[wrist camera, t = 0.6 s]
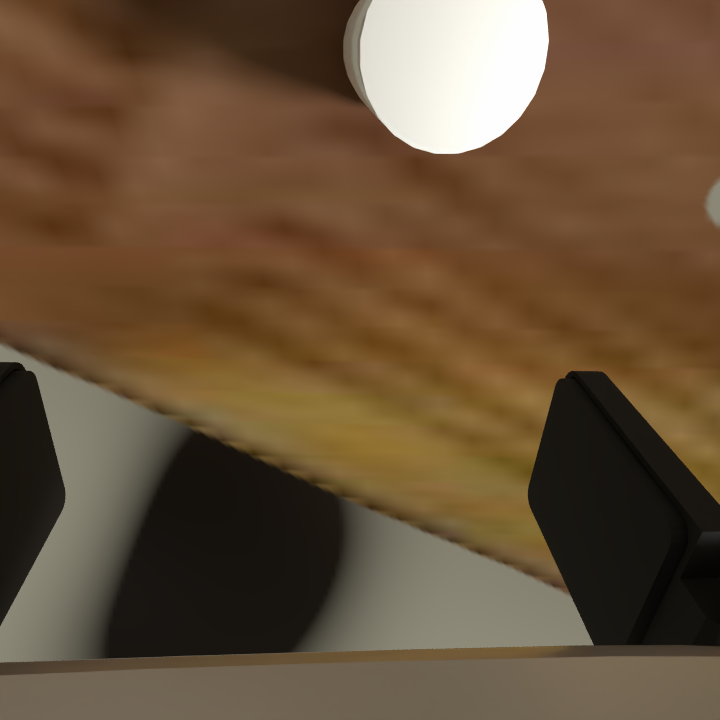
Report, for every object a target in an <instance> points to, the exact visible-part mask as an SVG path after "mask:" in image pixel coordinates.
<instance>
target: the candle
mask: <svg viewBox="0 0 720 720" xmlns="http://www.w3.org/2000/svg"><path fill="white" fill-rule="evenodd" d="M548 42H549V39H548V27H547V14H546V10H545V7H544V4H543V1H542V0H359V2H358V3H357V4H356V6H355V8H354V10H353V12H352V14H351V16H350V18H349V20H348V22H347V26H346V30H345V35H344V39H343V60H344V64H345V68H346V72H347V76H348V78H349V80H350V82H351V84H352V86H353V88H354V89H355V91H356V92H357V94H358V96H359V98H360V99H361V100H362V101H363V102H364V104H365V105H366V106H367V107H368V108H369V109H370V110H371V111H372V113H373V114H374V115H375V116H376V117H377V118H378V119H379V120H381V121H382V122H383V123H384V124H385V126H386V127H387V128H388V129H389V130H390V131H391V132H392V133H393V134H394V135H395V136H396V137H398V138H400V139H401V140H403V141H404V142H406V143H407V144H409V145H411V146H412V147H414V148H417V149H421V150H425V151H428V152H432V153H435V154H452V153H462V152H465V151H469V150H472V149H476V148H479V147H482V146H483V145H485V144H487V143H488V142H490V141H492V140H494V139H495V138H497V137H499V136H500V135H502V134H503V133H504V132H505V131H506V130H507V129H508V128H509V127H510V126H511V125H512V124H513V123H514V122H515V121H516V120H517V119H518V118H519V117H520V116H521V115H522V113H523V112H524V110H525V109H526V107H527V106H528V104H529V103H530V101H531V99H532V98H533V96H534V95H535V93H536V90H537V87H538V85H539V82H540V79H541V77H542V74H543V71H544V69H545V62H546V55H547V49H548Z"/></svg>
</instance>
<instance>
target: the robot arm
mask: <svg viewBox="0 0 720 720" xmlns="http://www.w3.org/2000/svg"><path fill="white" fill-rule="evenodd" d="M528 501H529V505H530V508H531V510H532V512H533V514H534V517H535V519H536V521H537V523H538V525H539V527H540V530H541V532H542V534H543V536H544V538H545V540H546V543H547V545H548V547H549V549H550V551H551V553H552V556H553V558H554V560H555V562H556V564H557V566H558V569H559V571H560V573H561V575H562V577H563V579H564V582H565V584H566V586H567V588H568V590H569V592H570V594H571V597H572V599H573V601H574V603H575V605H576V607H577V610H578V612H579V614H580V616H581V618H582V620H583V623H584V625H585V627H586V629H587V631H588V633H589V635H590V638H591V640H592V642H593V644H594V645H593V646H538V647H496V648H454V649H412V650H377V651H344V652H310V653H309V652H307V653H275V654H240V655H209V656H178V657H150V658H119V659H91V660H63V661H34V662H7V663H6V662H5V663H0V720H720V505H719V504H718V503H717V501H716V500H715V499H714V498H713V497H712V496H711V494H710V493H709V492H708V491H707V490H706V489H705V488H704V486H703V485H702V484H701V483H700V482H699V481H698V480H697V478H696V477H695V476H694V475H693V474H692V473H691V472H690V470H689V469H688V468H687V467H686V466H685V465H684V464H683V462H682V461H681V460H680V459H679V458H678V457H677V456H676V454H675V453H674V452H673V451H672V450H671V449H670V447H669V446H668V445H667V444H666V443H665V442H664V441H663V439H662V438H661V437H660V436H659V435H658V434H657V433H656V431H655V430H654V429H653V428H652V427H651V426H650V425H649V423H648V422H647V421H646V420H645V419H644V418H643V417H642V415H641V414H640V413H639V412H638V411H637V410H636V409H635V407H634V406H633V405H632V404H631V403H630V402H629V401H628V399H627V398H626V397H625V396H624V395H623V394H622V392H621V391H620V390H619V389H618V388H617V387H616V386H615V384H614V383H613V382H612V381H611V380H610V379H609V378H608V376H607V375H606V374H604V373H603V372H599V371H571V372H569V373H568V374H567V375H566V377H565V379H562V378H561V379H559V380H558V382H557V383H556V386H555V390H554V393H553V397H552V401H551V405H550V408H549V412H548V416H547V420H546V423H545V427H544V431H543V435H542V438H541V442H540V446H539V450H538V453H537V457H536V461H535V465H534V468H533V472H532V476H531V480H530V483H529V488H528ZM64 503H65V487H64V483H63V480H62V476H61V472H60V468H59V464H58V460H57V456H56V452H55V448H54V445H53V441H52V437H51V433H50V429H49V425H48V421H47V417H46V413H45V409H44V405H43V401H42V397H41V394H40V390H39V386H38V382H37V379H36V376H35V374H34V373H33V372H31V371H26V370H25V368H24V367H23V365H22V364H20V363H17V362H0V626H1V623H2V622H3V620H4V618H5V616H6V614H7V612H8V610H9V609H10V607H11V605H12V603H13V601H14V599H15V598H16V596H17V594H18V592H19V590H20V588H21V586H22V584H23V583H24V581H25V579H26V577H27V575H28V573H29V571H30V570H31V568H32V566H33V564H34V562H35V560H36V558H37V556H38V555H39V553H40V551H41V549H42V547H43V545H44V543H45V541H46V540H47V538H48V536H49V534H50V532H51V530H52V528H53V527H54V525H55V523H56V521H57V519H58V517H59V515H60V514H61V511H62V509H63V507H64Z"/></svg>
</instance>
